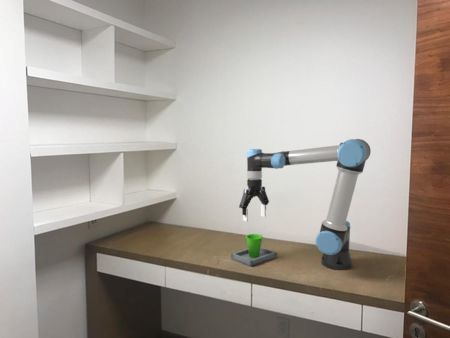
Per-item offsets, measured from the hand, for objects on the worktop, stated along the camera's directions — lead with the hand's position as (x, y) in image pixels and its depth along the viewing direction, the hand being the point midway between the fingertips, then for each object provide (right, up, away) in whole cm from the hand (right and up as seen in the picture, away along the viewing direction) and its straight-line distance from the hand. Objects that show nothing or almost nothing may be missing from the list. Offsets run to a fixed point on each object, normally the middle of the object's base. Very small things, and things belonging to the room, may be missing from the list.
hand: (254, 218), depth 188 cm
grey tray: (0, -21, +3) cm, 22 cm away
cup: (0, -21, +2) cm, 21 cm away
